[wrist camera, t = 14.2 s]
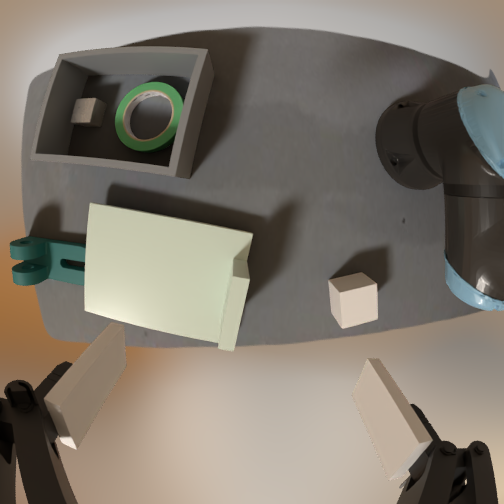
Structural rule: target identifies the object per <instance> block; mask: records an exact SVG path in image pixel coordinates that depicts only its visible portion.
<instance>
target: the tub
mask: <svg viewBox="0 0 504 504" xmlns="http://www.w3.org/2000/svg"><path fill="white" fill-rule="evenodd" d="M94 75H163V76H178V77H190V78H191V80H190V83H189V86H188V90H187V93H186V97H185V101H184V104H183V108H182V112H181V116H180V120H179V124H178V128H177V132H176V136H175V141H174V145H173V150H172V154H171V159H170V164H169V167H164V166H158V165H151V164H143V163H136V162H128V161H119V160H110V159H101V158H91V157H80V156H67V155H68V149H69V144H70V140H71V135H72V131H73V126H74V124H73V123H70V122H71V118H72V114H73V110H74V106H75V103H76V99H81V97H82V93H83V90H84V87H85V84H86V81H87V78H88V76H94ZM214 76H215V74H214V70H213V66H212V62H211V59H210V55H209V51H208V49H201V48H187V47H164V46H139V47H116V48H105V49H94V50H85V51H78V52H71V53H65V54H60V55H59V57H58V59H57V62H56V65H55V67H54V70H53V73H52V76H51V79H50V81H49V84H48V88H47V91H46V94H45V97H44V101H43V104H42V108H41V111H40V115H39V119H38V123H37V127H36V132H35V136H34V141H33V146H32V151H31V157H30V160H37V161H50V162H63V163H73V164H84V165H93V166H102V167H110V168H118V169H126V170H133V171H141V172H148V173H154V174H161V175H167V176H174V177H180V178H186V179H190V175H191V170H192V165H193V160H194V156H195V151H196V147H197V142H198V138H199V134H200V129H201V125H202V121H203V117H204V113H205V109H206V105H207V101H208V97H209V94H210V90H211V86H212V83H213V79H214Z"/></svg>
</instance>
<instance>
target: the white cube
mask: <svg viewBox="0 0 504 504" xmlns="http://www.w3.org/2000/svg"><path fill="white" fill-rule="evenodd" d="M328 282H329V291H330V302H331V313H332V314H333V316H334V317H335V319H336V320H337V322H338V323H339V325H340V326H341V328H342V329H343V328H347V327H351V326H355V325H359V324H362V323H366V322H369V321H373V320H377V319H378V305H377V283H375V282H374V281H373V280H372V279H370V278H369V277H368V276H366V275H365V274H364V273H362V272H360V273H356V274H352V275H347V276H343V277H338V278H334V279H329V280H328Z"/></svg>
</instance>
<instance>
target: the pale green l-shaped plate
mask: <svg viewBox="0 0 504 504" xmlns="http://www.w3.org/2000/svg"><path fill="white" fill-rule="evenodd" d="M252 236H253V233H252V232H247V231H242V230H237V229H232V228H227V227H222V226H217V225H212V224H207V223H202V222H197V221H192V220H187V219H182V218H176V217H171V216H166V215H161V214H155V213H150V212H144V211H139V210H134V209H128V208H122V207H117V206H111V205H106V204H100V203H94V202H93V203H90V208H89V217H88V227H87V239H86V255H85V311H88V312H91V313H94V314H98V315H101V316H105V317H108V318H112V319H115V320H119V321H123V322H126V323H130V324H134V325H138V326H142V327H146V328H150V329H154V330H158V331H163V332H167V333H172V334H176V335H181V336H186V337H190V338H195V339H201V340H206V341H211V342H217V343H219V344H218V349H222V350H229V351H234V347H235V343H236V338H237V334H238V330H239V325H240V321H241V317H242V312H243V308H244V303H245V299H246V295H247V290H248V286H249V281H250V277H249V271H248V264H247V259H248V254H249V250H250V245H251V241H252Z"/></svg>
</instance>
